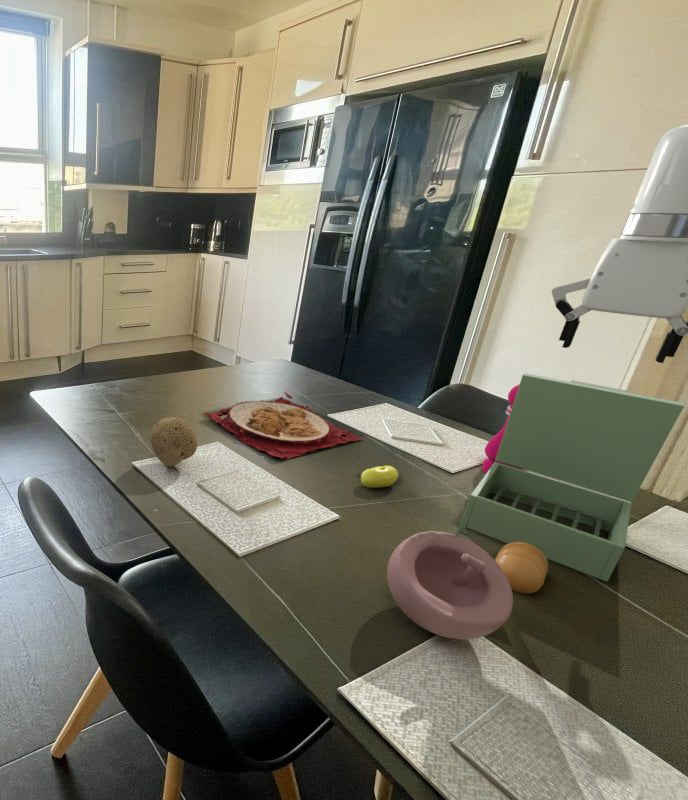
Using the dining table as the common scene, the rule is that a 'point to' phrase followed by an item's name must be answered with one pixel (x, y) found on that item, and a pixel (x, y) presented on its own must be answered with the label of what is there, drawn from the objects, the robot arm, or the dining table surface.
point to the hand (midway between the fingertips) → (610, 353)
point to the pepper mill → (498, 437)
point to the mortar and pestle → (449, 585)
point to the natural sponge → (173, 441)
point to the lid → (586, 433)
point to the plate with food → (280, 427)
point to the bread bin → (546, 534)
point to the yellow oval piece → (379, 476)
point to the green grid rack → (596, 524)
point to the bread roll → (523, 566)
